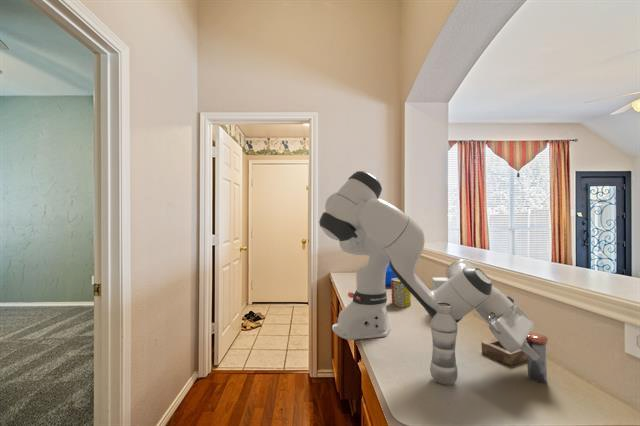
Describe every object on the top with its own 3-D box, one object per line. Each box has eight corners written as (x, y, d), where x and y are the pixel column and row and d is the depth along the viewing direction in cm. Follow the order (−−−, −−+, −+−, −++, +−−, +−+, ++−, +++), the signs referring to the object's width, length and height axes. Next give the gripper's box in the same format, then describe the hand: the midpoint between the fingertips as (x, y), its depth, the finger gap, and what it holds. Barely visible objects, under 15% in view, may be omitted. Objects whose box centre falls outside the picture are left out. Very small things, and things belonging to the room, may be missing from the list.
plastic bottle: (425, 374, 78) (425, 300, 78) (449, 373, 79) (449, 300, 78) (437, 389, 72) (436, 309, 71) (463, 387, 72) (463, 307, 72)
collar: (510, 364, 83) (509, 354, 83) (481, 351, 91) (481, 342, 91) (530, 358, 86) (529, 348, 86) (501, 346, 94) (500, 337, 95)
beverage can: (390, 301, 147) (389, 277, 147) (407, 301, 147) (407, 277, 147) (394, 306, 138) (393, 281, 138) (413, 306, 138) (412, 281, 138)
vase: (405, 283, 187) (405, 253, 188) (396, 289, 172) (396, 256, 172) (378, 280, 197) (378, 252, 198) (368, 285, 182) (367, 255, 182)
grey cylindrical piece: (541, 385, 72) (540, 341, 73) (521, 376, 77) (520, 334, 77) (553, 381, 74) (551, 338, 74) (533, 372, 79) (532, 331, 79)
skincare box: (452, 318, 121) (451, 281, 122) (435, 317, 123) (434, 280, 123) (447, 311, 129) (446, 277, 130) (432, 311, 131) (431, 276, 131)
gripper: (494, 311, 73) (544, 363, 66) (512, 295, 88) (554, 336, 81) (475, 325, 76) (521, 376, 69) (496, 307, 91) (535, 347, 84)
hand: (539, 354), depth 75 cm, fingers closed on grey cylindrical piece, 4 cm apart
